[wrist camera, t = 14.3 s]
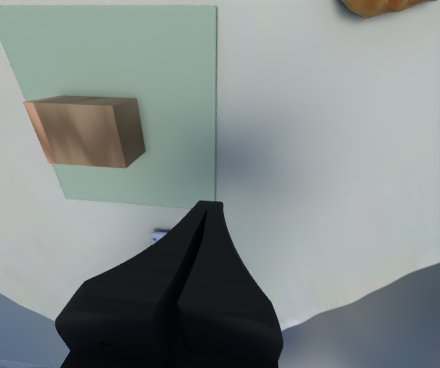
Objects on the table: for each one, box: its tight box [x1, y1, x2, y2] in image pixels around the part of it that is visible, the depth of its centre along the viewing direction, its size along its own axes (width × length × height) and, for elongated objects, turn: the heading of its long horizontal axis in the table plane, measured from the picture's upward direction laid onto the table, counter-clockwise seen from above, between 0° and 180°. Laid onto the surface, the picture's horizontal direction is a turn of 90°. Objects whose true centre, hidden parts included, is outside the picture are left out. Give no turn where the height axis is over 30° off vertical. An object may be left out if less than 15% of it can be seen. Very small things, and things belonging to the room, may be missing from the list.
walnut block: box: [23, 95, 146, 169], centre depth 18 cm, size 5×4×7 cm
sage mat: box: [0, 6, 217, 208], centre depth 20 cm, size 18×18×1 cm
